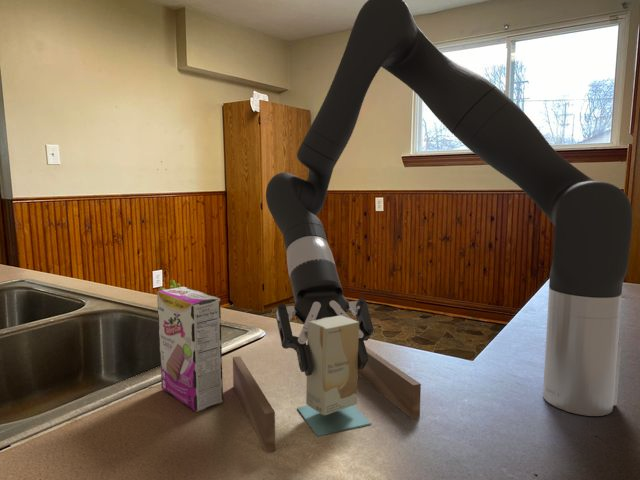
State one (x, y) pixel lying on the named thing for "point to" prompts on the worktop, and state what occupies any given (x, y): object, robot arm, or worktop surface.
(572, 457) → the worktop surface
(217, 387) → the candy bar box
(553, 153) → the robot arm
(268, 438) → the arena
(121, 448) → the worktop surface
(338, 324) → the skincare box
